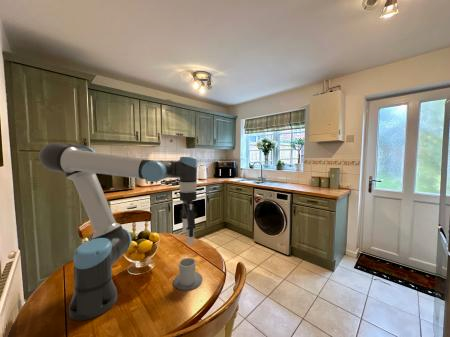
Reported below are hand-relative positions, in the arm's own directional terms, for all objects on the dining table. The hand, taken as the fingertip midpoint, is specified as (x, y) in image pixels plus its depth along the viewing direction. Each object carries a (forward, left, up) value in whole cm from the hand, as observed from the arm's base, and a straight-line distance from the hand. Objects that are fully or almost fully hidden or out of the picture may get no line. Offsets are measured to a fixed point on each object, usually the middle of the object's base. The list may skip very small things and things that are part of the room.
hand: (187, 237), depth 86 cm
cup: (0, 0, -20) cm, 20 cm away
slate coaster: (0, 0, -20) cm, 20 cm away
